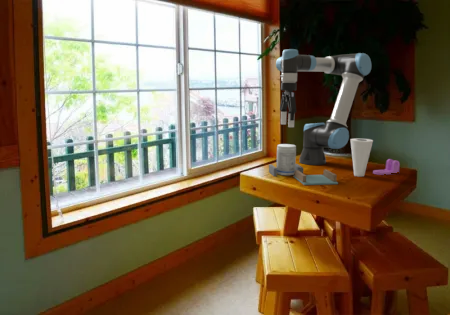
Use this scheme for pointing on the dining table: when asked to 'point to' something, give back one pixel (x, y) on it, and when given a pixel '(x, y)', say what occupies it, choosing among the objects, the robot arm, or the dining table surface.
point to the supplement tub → (286, 159)
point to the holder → (274, 170)
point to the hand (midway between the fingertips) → (287, 125)
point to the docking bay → (316, 178)
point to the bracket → (389, 167)
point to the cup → (360, 155)
